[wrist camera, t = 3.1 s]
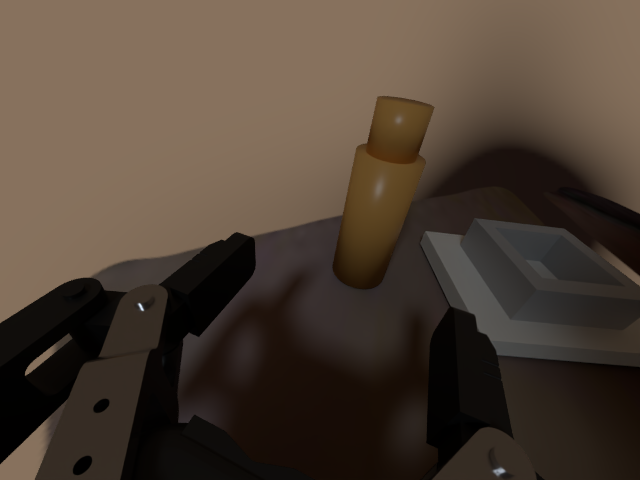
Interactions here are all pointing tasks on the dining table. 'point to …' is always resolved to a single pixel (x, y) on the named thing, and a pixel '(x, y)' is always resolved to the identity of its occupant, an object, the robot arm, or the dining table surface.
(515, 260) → the hollow square frame plate
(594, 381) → the dining table surface
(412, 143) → the stepped amber cylinder
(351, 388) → the dining table surface
